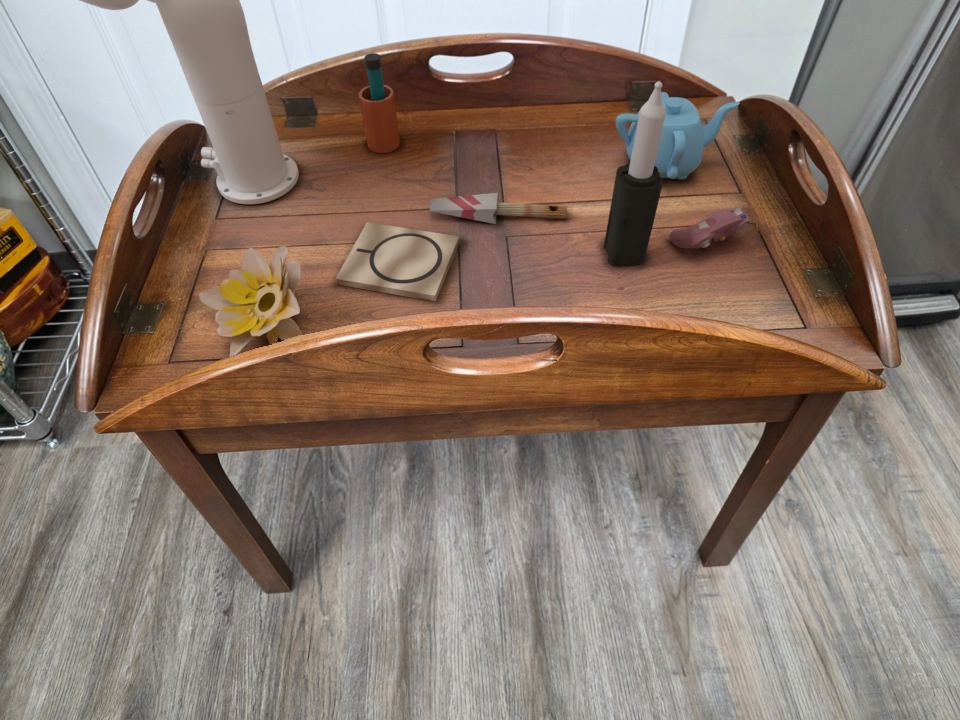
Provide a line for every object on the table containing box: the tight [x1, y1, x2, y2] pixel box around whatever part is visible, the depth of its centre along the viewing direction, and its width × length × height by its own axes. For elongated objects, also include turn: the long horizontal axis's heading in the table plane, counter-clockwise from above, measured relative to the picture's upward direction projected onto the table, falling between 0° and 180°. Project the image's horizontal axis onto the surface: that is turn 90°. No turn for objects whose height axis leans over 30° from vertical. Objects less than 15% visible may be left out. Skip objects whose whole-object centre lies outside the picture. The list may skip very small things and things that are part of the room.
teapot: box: [615, 91, 740, 180], centre depth 99 cm, size 13×14×11 cm
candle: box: [603, 80, 666, 267], centre depth 81 cm, size 5×5×25 cm
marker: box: [363, 52, 385, 101], centre depth 103 cm, size 2×2×14 cm
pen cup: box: [358, 84, 401, 154], centre depth 105 cm, size 5×6×9 cm
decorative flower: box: [198, 245, 303, 358], centre depth 80 cm, size 15×11×10 cm
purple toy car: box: [669, 207, 751, 250], centre depth 89 cm, size 10×5×7 cm, turn 117°
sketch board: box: [335, 221, 461, 302], centre depth 90 cm, size 14×12×1 cm
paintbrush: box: [429, 192, 568, 225], centre depth 95 cm, size 4×3×20 cm
